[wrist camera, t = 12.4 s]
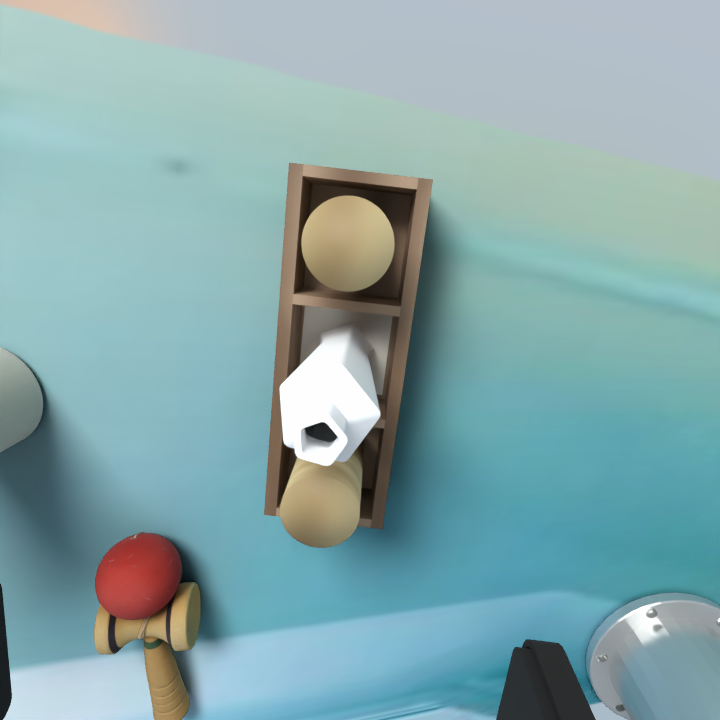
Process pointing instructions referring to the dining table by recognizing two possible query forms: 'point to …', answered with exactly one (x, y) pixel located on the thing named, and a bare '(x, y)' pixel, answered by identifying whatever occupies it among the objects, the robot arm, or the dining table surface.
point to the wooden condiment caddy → (337, 308)
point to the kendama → (149, 614)
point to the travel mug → (17, 400)
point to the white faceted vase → (330, 398)
